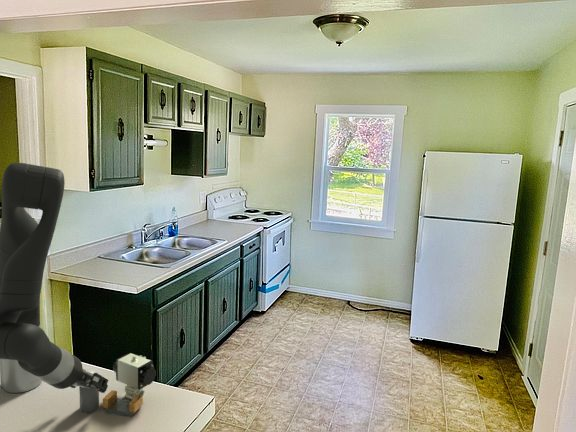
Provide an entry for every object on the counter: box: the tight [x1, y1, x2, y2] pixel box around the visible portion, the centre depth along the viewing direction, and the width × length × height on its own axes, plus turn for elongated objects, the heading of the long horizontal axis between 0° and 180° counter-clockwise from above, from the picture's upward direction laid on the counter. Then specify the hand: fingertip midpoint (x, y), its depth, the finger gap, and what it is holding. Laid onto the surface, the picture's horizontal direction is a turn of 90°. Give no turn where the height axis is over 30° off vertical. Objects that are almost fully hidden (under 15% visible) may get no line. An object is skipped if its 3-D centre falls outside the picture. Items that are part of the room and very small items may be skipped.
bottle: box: [78, 369, 100, 415], centre depth 108 cm, size 5×5×10 cm
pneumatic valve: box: [112, 352, 157, 401], centre depth 114 cm, size 6×12×12 cm, turn 63°
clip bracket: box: [102, 390, 144, 418], centre depth 109 cm, size 9×5×4 cm, turn 80°
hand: (90, 386), depth 108 cm, fingers open, 8 cm apart
